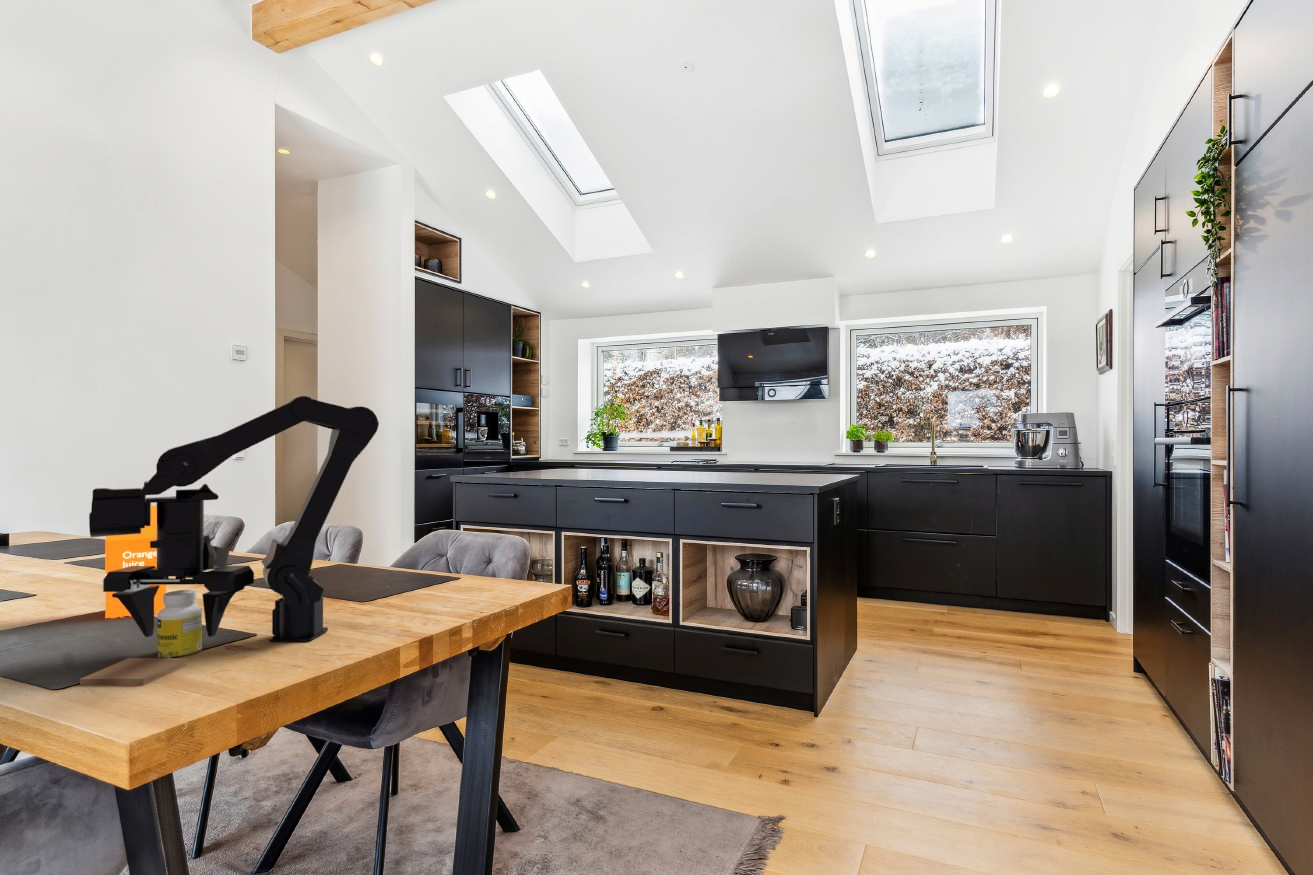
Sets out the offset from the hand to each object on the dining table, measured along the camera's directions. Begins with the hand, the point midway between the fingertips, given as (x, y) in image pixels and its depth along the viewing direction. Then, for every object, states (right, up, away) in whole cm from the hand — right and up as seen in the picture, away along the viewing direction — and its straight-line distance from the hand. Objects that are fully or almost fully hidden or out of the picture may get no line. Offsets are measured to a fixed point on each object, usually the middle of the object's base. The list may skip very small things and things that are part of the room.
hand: (180, 636), depth 99 cm
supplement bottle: (0, -4, 0) cm, 4 cm away
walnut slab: (+1, -4, -10) cm, 11 cm away
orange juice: (-25, -3, +24) cm, 35 cm away
